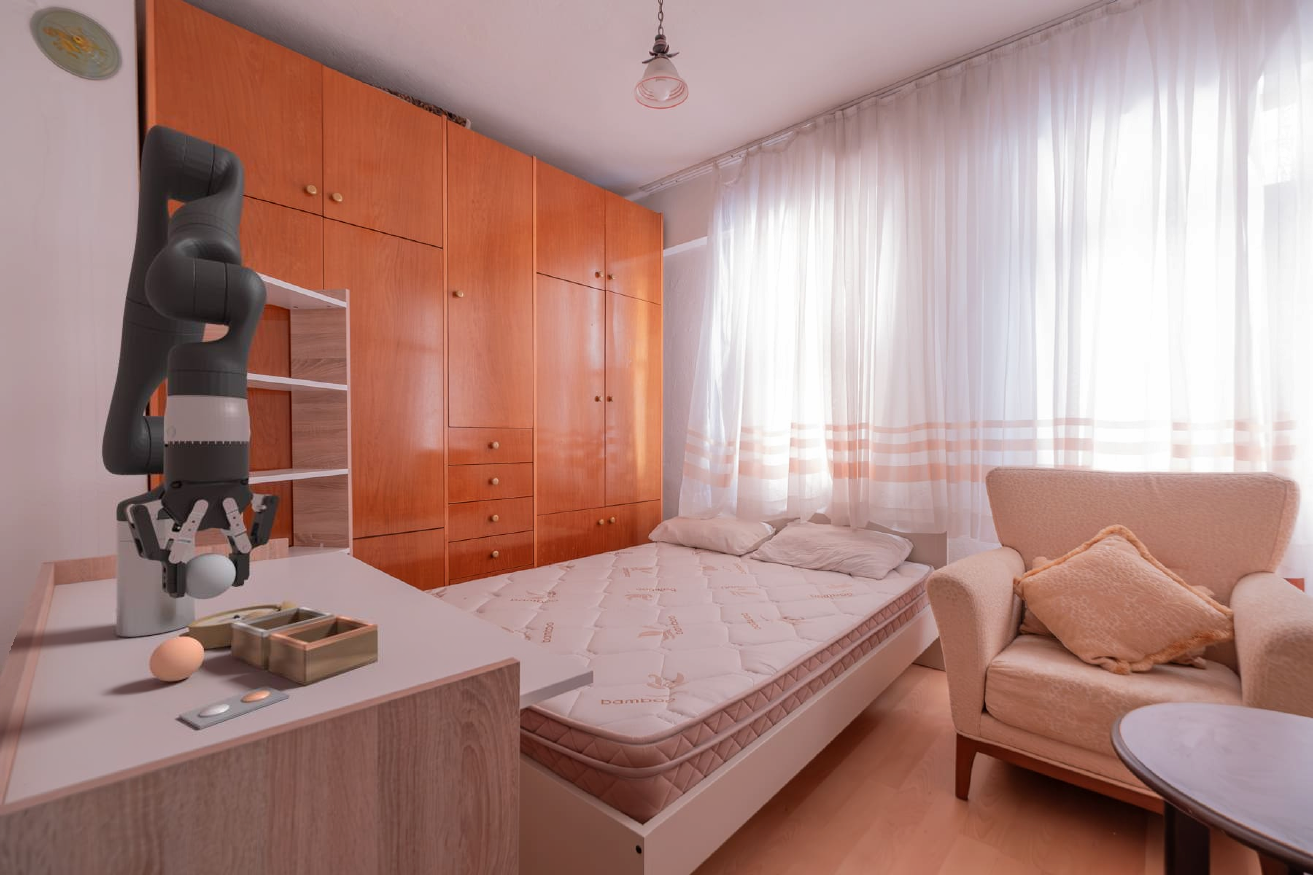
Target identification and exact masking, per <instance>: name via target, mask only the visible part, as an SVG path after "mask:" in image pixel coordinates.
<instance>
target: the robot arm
mask: <svg viewBox="0 0 1313 875" xmlns="http://www.w3.org/2000/svg"><path fill="white" fill-rule="evenodd" d="M141 153H142V154H141V162H140V174H139V175H140V176H139V192H138V194H139V195H138V207H137V208H138V210H137V222H136V223H137V225H136V236H135V245H134V250H133V257H132V263H131V267H130V273H129V278H128V283H127V289H126V294H125V295H126V297H125V300H124V301H125V303H124V309H123V315H122V316H123V318H122V328H121V340H120V351H119V358H118V360H119V361H118V366H117V375H116V377H115V378H116V379H115V383H114V387H113V393H112V397H111V401H110V405H109V410H108V414H107V418H106V421H105V422H106V423H105V427H104V431H103V432H104V433H103V435H102V436H103V437H102V446H101V456H102V463H103V466H104V468H105V469H106V470H107V471H108V472H109V474H112V475H116V476H145V475H146V476H149V475H163V480H162V481H161V483H160V484H159V485H157V486H156V487H154V488H153V489H151V490H150V491H147V492H144V493H142V494H139V495H137V496H133V497H129V498H126V499H124V500H122V501H119V503H118V504H117V506H116V519H115V520H116V608H115V610H116V611H115V612H116V613H115V614H116V617H115V624H116V625H115V626H116V628H115V629H116V630H115V631H116V633H115V634H116V636H119V637H128V638H129V637H141V636H142V637H143V636H144V637H145V636H148V635H157V634H163V633H166V632H172V631H176V630H180V629H183V628H186V627H188V624H189V623H191V622H192V621H195V620H196V618H195V617H196V612H195V611H196V606H195V604H196V598H193V597H190V596H188V595H187V594H185V564H186V563H187V562H188V561H189V560H191V559H192V558H194V557H196V553H195V552H196V547H195V546H196V545H195V544H196V542H195V541H196V540H195V539H196V533H197V532H202V531H206V530H209V529H219V530H220V532H221V533H222V535H223V536H224V537H225V539H226V541H227V544H228V546H229V548H230V550H231V551H232V552H228V558H229V559H230V560H231V561H232V563H233V564H234V566H235V570H236V576H235V579H234V582H233V583H232V585H231V586H230V587H234V588H238V587H243V586H244V585H245V581H247V580H248V579H249V578H250V574H251V573H250V566H251V565H250V561H251V560H250V556H251V555H250V554H251V552H252V550H254V549H256V548H258V547H260V546H264V545H267V544H268V543H269V541H270V536H271V532H272V530H273V525H274V522H275V518H276V516H277V515H276V514H277V511H278V510H277V509H278V507H279V503H280V498H279V496H278V495H276V494H265V493H263V494H259V493H255V492H254V491H253V490H252V488H251V486H250V484H249V482H250V463H251V462H250V453H251V452H250V451H251V450H250V445H251V444H250V439H251V435H252V433H251V432H252V431H251V428H250V426H251V424H250V420H251V419H250V412H249V406H248V367H249V366H248V364H249V357H250V351H251V347H252V343H253V339H254V337H255V334H256V330H257V328H258V326H259V324H260V320H261V318H262V315H263V312H264V310H265V306H266V303H267V297H268V296H267V293H268V292H267V288H266V284H265V282H264V280H263V279H262V277H261V276H260V274H258V272H256V271H255V270H254V269H252V268H250V267H248V266H244V265H243V256H242V255H243V254H242V249H241V248H242V247H241V242H240V235H239V234H240V231H239V230H240V225H241V224H240V223H241V221H242V220H241V219H242V213H243V208H244V207H243V206H244V197H245V196H244V195H245V186H246V185H245V181H246V180H245V179H246V178H245V177H246V176H245V170H244V165H243V162H242V160H241V159H240V157H239V156H238V155H237V154H235V152H233V151H231V150H229V149H228V148H225V147H223V146H220V145H218V144H215V143H212V142H209V141H206V140H203V139H201V138H199V137H196V136H192V135H191V134H188V133H184V132H181V131H180V130H176V129H174V128H171V127H168V126H164V125H162V124H156V125H153V126H152V127H150V128H149V130H148V131H147V133H146V136H145V139H144V142H143V147H142V152H141ZM170 200H172V201H175V202H178V203H183V205H181V206H180V207H178V208H177V209H176V210H175V211H174V212H173V213H172V214H171V217H170V212H169V201H170ZM206 324H207V325H208V324H209V325H216V326H225V327H228V328H227V332H226V333H225V335H223V336H222V337H220V338H218V339H214V340H209V341H203V340H204V336H205V331H206ZM165 380H166V381H167V382H166V383H167V386H166V389H167V391H166V393H167V394H166V395H167V398H166V406H165V411H164V416H163V415H161V416H160V415H144V413H145V411H146V408H147V406H148V403H149V402H150V400H151V398H152V396H153V395H154V393H155V392H156V390H157V389H158V388H159V387H160V386H161V385H162V383H163V382H164V381H165ZM250 503H251V509H252V510H253V511H254V515H253V518H252V522H251V525H250V529H249V532H248V534H247V528H246V525H245V524H244V521H243V518H242V516H241V515H242V514H243V513H244V512H245V510H246V508H247V507H248V506H249V504H250Z"/></svg>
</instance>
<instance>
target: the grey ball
mask: <svg viewBox="0 0 1313 875" xmlns="http://www.w3.org/2000/svg"><path fill="white" fill-rule="evenodd" d="M235 576H236V570H235V566H234V564H233V563H232V561H231V560H230V559H229V557H227V556H225V555H224V554H220V553H216V552H207V553H206V552H205V553H202V554H199V555H195V557H194V558H192V559H191V560H189V561H188V562H187V563H186V564H185V594H187V595H188V596H190V597H193V598H195V600H197V599H198V600H209V599H213V598H216V597H217V598H218V597H219V596H221V595H223V594H224V593H226V592H227V590H229V589H230V588H231V587H232V586H231V585H232V583H233V582H234V579H235Z"/></svg>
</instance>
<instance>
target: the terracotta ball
mask: <svg viewBox="0 0 1313 875" xmlns="http://www.w3.org/2000/svg"><path fill="white" fill-rule="evenodd" d="M204 658H205V650H204V649H203V647H202V645H201V644H200V643H199V642H198V641H197V640H195V639H193V638H190V637H189V636H187V637H179V636H177V637H173V638H169V639H167V640H165V641H164V642H162V643H161V644H160V645H158V646H156V648H155V649H154V651H153V652H152V653H151V655H150V658H149V663H148V664H149V670H150V673H151V674H152V675H153V677H155V678H156V679H158V680H160V681H164V682H168V683H170V682H171V683H172V682H179V681H183V680H184V679H187V678H189V677H190V676H192V675H193V674H195V672H197V670H198V669H199V668H201V665H202V664H203V661H204Z"/></svg>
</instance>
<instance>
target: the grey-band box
mask: <svg viewBox="0 0 1313 875" xmlns="http://www.w3.org/2000/svg"><path fill="white" fill-rule="evenodd" d="M332 617H335V614H334V613H332V612H331V613H330V612H326V611H322V610H317V609H313V608H309V607H305V606H297V607H296V608H292V609H288V610H283V611H279V612H275V613H270V614H266V615H262V616H257V617H253V618H249V619H245V620H240V621H236V622H232V623H231V645H230V648H231V651H230V658H232V659H234V660H236V661H239V662H242V663H245V664H247V665H250V666H253V667H255V668H259V669H261V670H269V634H271V633H274V632H278V631H282V630H286V629H290V628H294V627H297V626H301V625H305V624H309V623H313V622H317V621H321V620H324V619H328V618H332Z"/></svg>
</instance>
